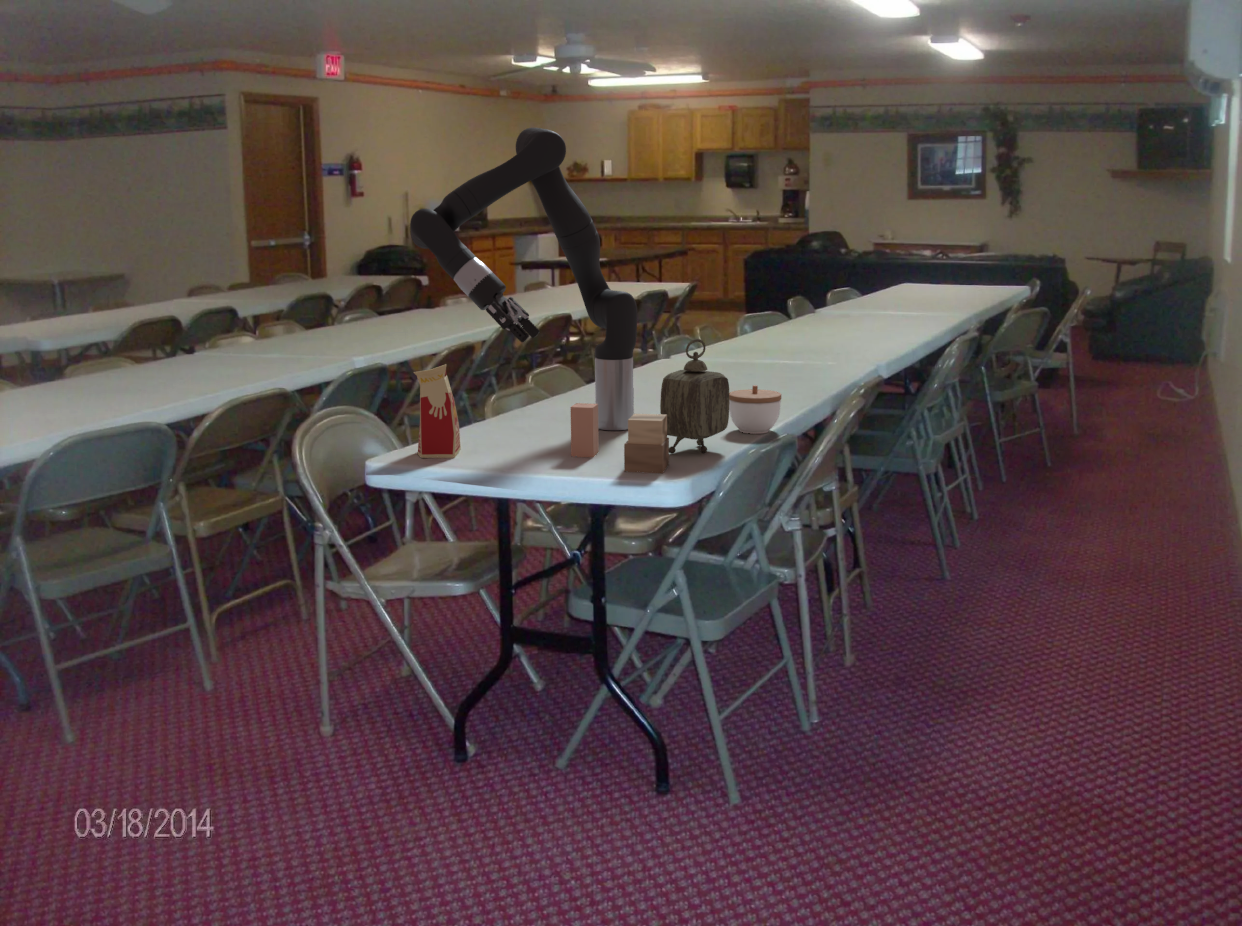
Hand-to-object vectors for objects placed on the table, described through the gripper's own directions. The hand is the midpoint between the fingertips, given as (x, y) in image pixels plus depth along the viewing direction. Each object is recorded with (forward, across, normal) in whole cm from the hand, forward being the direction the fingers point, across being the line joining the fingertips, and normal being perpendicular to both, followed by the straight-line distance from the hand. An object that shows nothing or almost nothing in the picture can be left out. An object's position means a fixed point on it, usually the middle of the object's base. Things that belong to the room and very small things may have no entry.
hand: (531, 337), depth 261 cm
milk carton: (+4, -4, +33) cm, 34 cm away
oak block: (+34, -10, -6) cm, 36 cm away
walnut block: (+38, -10, -1) cm, 39 cm away
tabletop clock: (+43, +7, -7) cm, 44 cm away
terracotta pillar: (+26, 0, +10) cm, 28 cm away
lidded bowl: (+50, +32, -14) cm, 62 cm away
